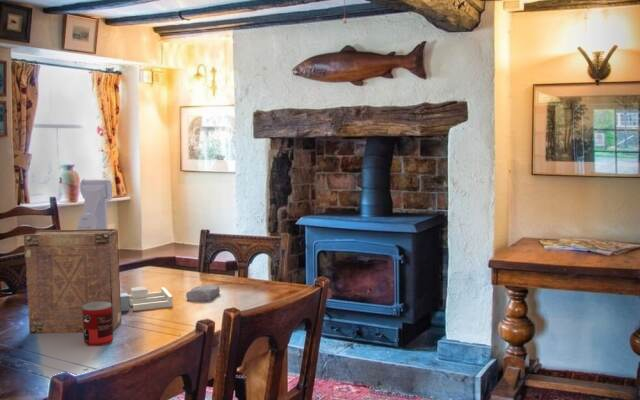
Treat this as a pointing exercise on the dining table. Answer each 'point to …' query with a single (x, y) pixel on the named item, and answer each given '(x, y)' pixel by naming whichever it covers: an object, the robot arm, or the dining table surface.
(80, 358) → the dining table surface
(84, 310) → the canned food
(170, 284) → the dining table surface
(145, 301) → the lane rack
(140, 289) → the cream cube
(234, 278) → the dining table surface
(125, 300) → the tethered block
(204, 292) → the stone block
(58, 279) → the book
